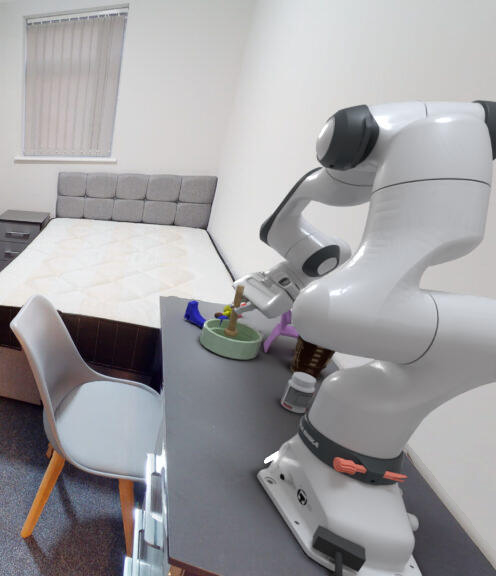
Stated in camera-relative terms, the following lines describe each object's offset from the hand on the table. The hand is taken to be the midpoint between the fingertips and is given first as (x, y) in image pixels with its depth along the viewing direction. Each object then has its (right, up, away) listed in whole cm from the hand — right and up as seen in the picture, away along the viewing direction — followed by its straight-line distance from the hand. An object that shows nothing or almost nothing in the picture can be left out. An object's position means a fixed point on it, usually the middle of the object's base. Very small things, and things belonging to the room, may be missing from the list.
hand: (233, 310), depth 108 cm
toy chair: (+15, -13, 0) cm, 19 cm away
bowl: (0, -11, +2) cm, 12 cm away
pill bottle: (-1, -22, -22) cm, 31 cm away
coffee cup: (+13, -16, -9) cm, 23 cm away
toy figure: (+11, -5, +17) cm, 21 cm away
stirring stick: (+1, -7, +3) cm, 8 cm away
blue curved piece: (0, -6, +14) cm, 15 cm away
